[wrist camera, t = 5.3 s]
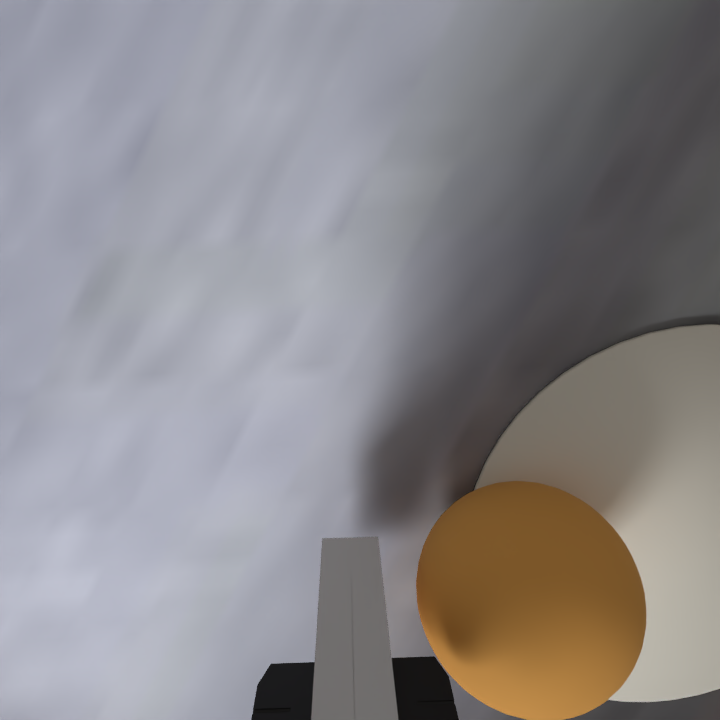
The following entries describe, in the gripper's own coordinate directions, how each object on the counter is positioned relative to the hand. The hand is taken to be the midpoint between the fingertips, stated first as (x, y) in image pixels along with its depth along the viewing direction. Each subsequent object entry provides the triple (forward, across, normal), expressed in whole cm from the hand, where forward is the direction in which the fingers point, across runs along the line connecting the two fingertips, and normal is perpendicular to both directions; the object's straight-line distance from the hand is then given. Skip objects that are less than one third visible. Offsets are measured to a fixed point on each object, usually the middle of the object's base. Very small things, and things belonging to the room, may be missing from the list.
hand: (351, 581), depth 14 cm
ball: (-1, -4, 0) cm, 5 cm away
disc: (+2, -10, 0) cm, 10 cm away
